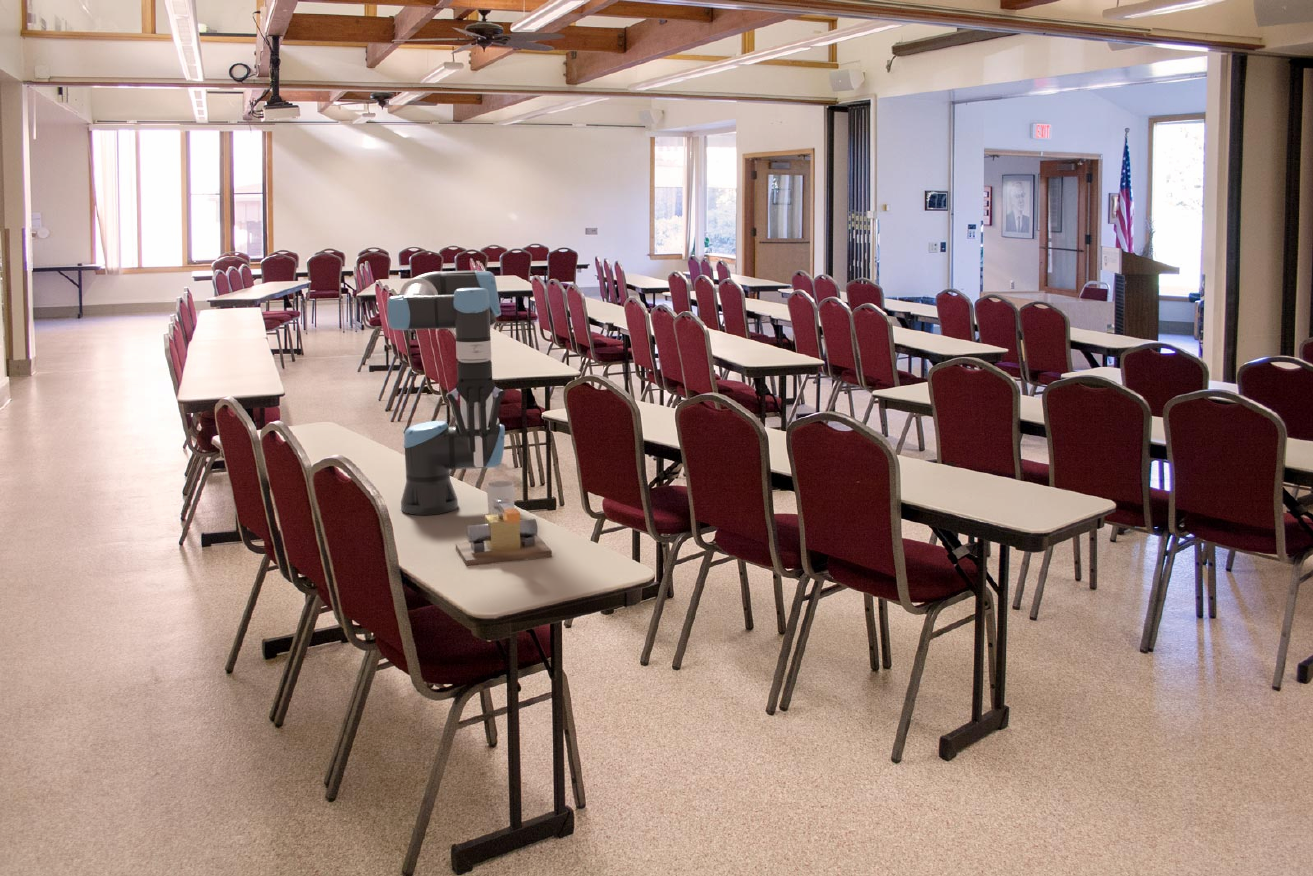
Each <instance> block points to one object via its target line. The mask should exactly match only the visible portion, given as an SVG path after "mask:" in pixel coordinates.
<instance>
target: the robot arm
mask: <svg viewBox="0 0 1313 876" xmlns="http://www.w3.org/2000/svg"><path fill="white" fill-rule="evenodd" d="M496 281H497V280H496V276H495V274H494V273H493V272H491V271H488V270H487V271H486V270H477V269H475V270H452V271H450V270H449V271H437V270H436V271H432V272H431V271H430V272H426V273H423V274H419V275H417V276H415V277H412V278H410V279H409V280H407V281H406V282H405V283H404V284H403V285H402V287H401V288H400V291H399V295H395V296H394V295H393V296H389V297H388V298H387V303H386V304H387V305H386V306H387V307H386V308H387V309H386V310H387V311H386V312H387V313H386V314H387V321H388V327H389V328H390V330H395V331H396V330H398V331H407V330H409V331H410V330H411V331H413V330H442V329H443V330H445V329H447V330H448V329H455V353H456V355H455V356H456V359H457V360H458V361H457V363H456V372H457V373H456V375H457V380H456V384H455V387H454V389H452V391H450V392H446V394H445V397H446V398H447V400H448V401H449V403H450V405H451V408H452V412H453V415H454V418H455V425H454V426H449V424H448V423H447V421H445V420H433V421H425V422H421V423H418V424H417V423H416V424H414V425H412V426H411V425H410V426H409V427H408V428H407V429H406V430H405V431H404V433H403V434H404V436H403V439H404V440H403V442H404V444H403V448H404V461H405V463H404V464H405V485H404V489H403V492H402V495H401V496H402V497H401V501H400V509H401V512H403V513H405V514H408V513H409V515H414V514H415V515H416V516H417V515H418V516H429V515H431V516H432V515H439V514H444V513H445V514H446V513H449V512H452V511H454V510H456V509H458V506H459V503H458V496H457V493H456V491H455V488H454V486H453V484H452V481H451V474H450V471H451V470H469V469H470V470H471V469H473V470H474V469H477V470H479V469H484V470H485V469H488V468H497V467H499V466H500V465H501V464H502V461H503V457H504V450H505V434H506V430H505V429H506V428H505V425H504V424H502V423H500V419H499V414H500V413H499V412H500V407H501V402H502V400H503V399H504V397H505V396H506V392H505V390H503V389H501V388H499V387H496V384H495V382H494V379H493V364H492V363H493V362H492V347H491V346H492V341H491V340H492V339H491V328H493V326H494V325H495V324H496V323H497V322H496V321H497V319H496V318H498V317H499V316H501V315H502V310H501V306H500V299H499V294H498V293H499V292H498V287H497V282H496ZM458 395H459V396H458ZM458 400H459V401H460V402H459V403H460V405H459V403H458Z"/></svg>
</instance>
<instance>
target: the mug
mask: <svg viewBox="0 0 1313 876" xmlns="http://www.w3.org/2000/svg"><path fill="white" fill-rule="evenodd" d="M486 495H487V510H488V511H487V512H488V515H493V514H498V510H497V509H494V503H493V500H495V499H499V498H506V499H509V505H510V506H511V507H512V509H514V508H515V482H513V481H510V480H494V481H490V482H488V483H487V484H486Z"/></svg>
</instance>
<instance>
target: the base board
mask: <svg viewBox="0 0 1313 876" xmlns="http://www.w3.org/2000/svg"><path fill="white" fill-rule="evenodd" d="M534 537H535V546H532V547H524V545H523V544H522V543H521V537H520V549H519V550H510V551H501V552H493V553H492V552H491V551H490V550H489V548H488V547H487V545H486V541H483V542H484V547H485V552H479V553H474V552H473V550H472V549H471V543H469V542H468V541H467V542H466V541H465V542H456V543H455V544H454V545H455V551H456V552H457V554H458V555H459V557H460V559H461V560H462V561H463V563H464V565H465V566H466V567H475V566H482V565H483V566H485V565H492V563H493V564H500V563H501V564H503V563H508V562H517V561H526V560H525V559H528V560H535V559H543V558H544V557H545V558H551V557H550V556H552V557H553V555H552V554H553V553H552V552H553V551H552V549H551V548H550V547H549V546H548V545H547V544H546V542H544V540H543V539H542V538H541V537H540V536H539V535H538V534H537V535H536V536H534Z"/></svg>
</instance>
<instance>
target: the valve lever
mask: <svg viewBox="0 0 1313 876" xmlns="http://www.w3.org/2000/svg"><path fill="white" fill-rule="evenodd" d="M493 503H494V509H497V510H500V511H501V512H502V513H503V519H504V520H505V521H506V523H507V524H508V523H517V522H520V520H521V512H520V511H519V510H518V508H517V507H516V508H515V507H514V509H512V507H511V506H510V505H509V499H506V498H499V499H495V500H493Z"/></svg>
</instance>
